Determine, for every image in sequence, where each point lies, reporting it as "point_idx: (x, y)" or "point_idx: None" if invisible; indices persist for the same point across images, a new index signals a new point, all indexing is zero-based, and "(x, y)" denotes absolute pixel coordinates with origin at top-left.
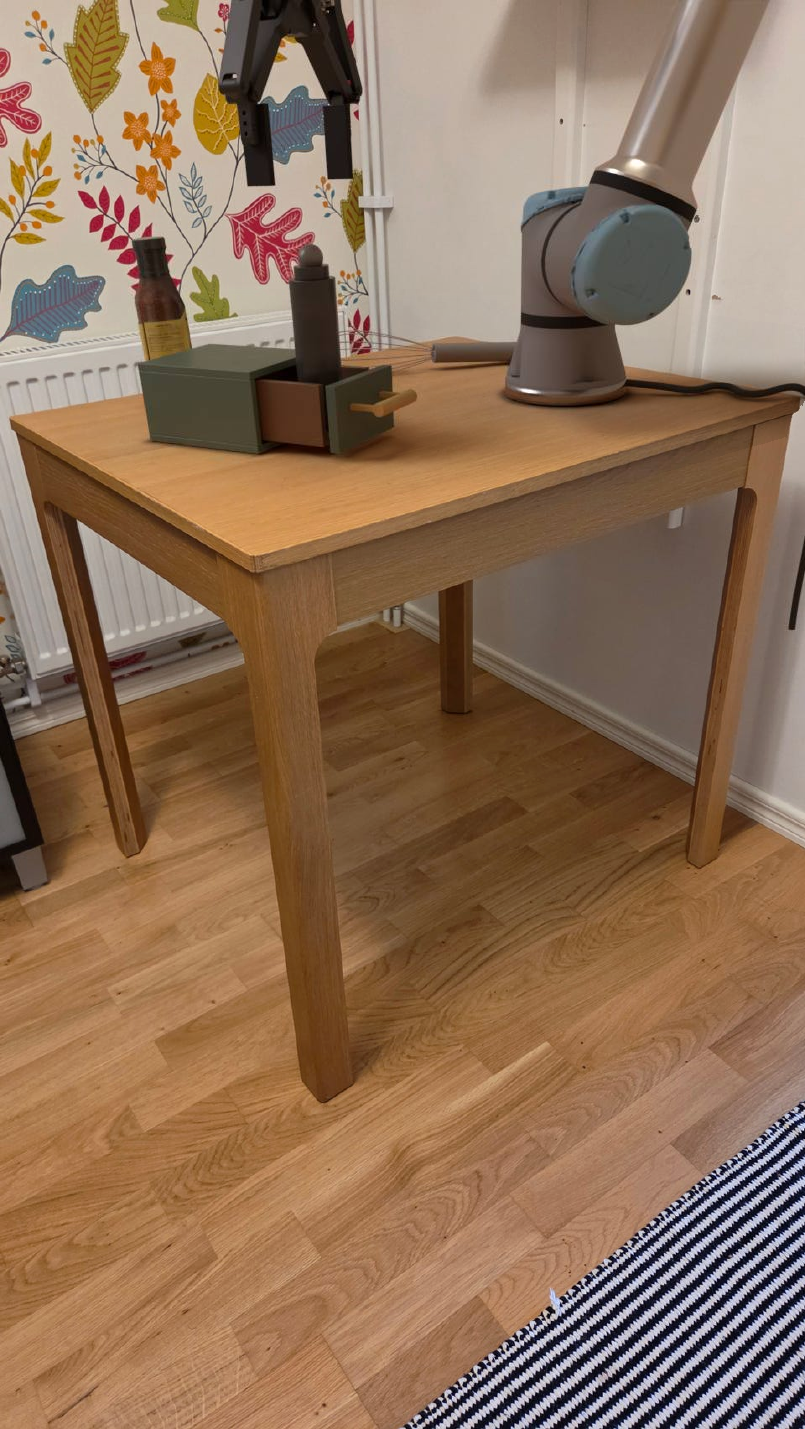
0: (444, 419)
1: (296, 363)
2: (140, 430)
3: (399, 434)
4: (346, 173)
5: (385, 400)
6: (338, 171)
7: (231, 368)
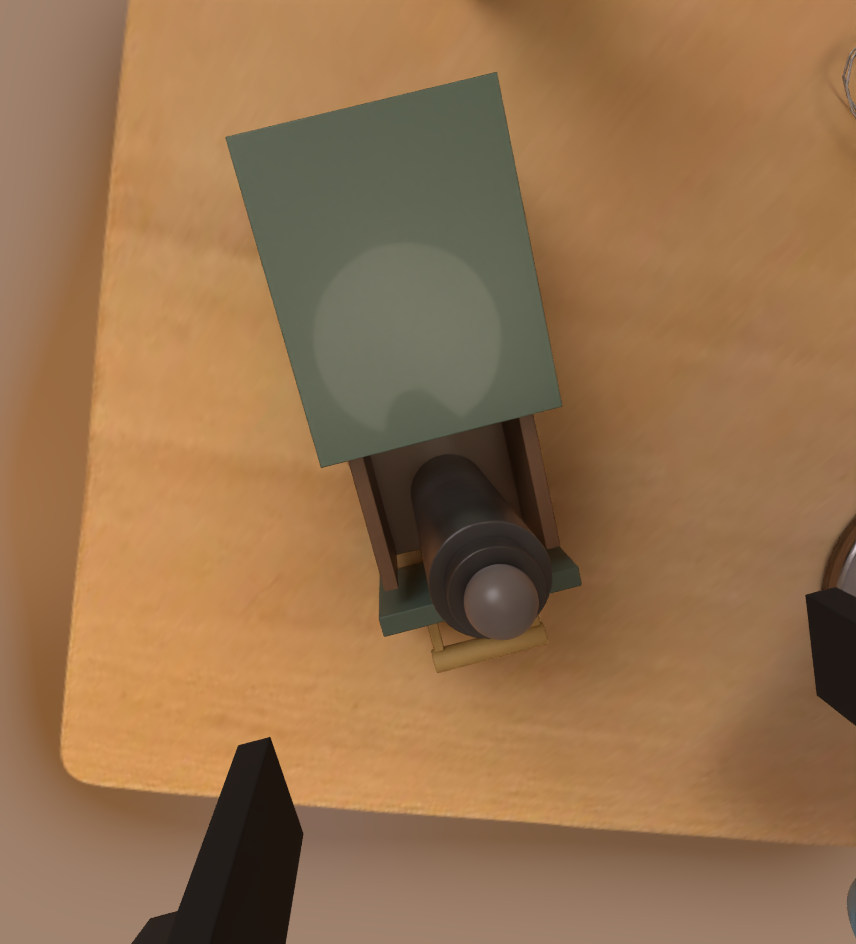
0: (674, 531)
1: (423, 498)
2: (298, 88)
3: (559, 538)
4: (832, 695)
5: (458, 661)
6: (833, 664)
7: (323, 401)
